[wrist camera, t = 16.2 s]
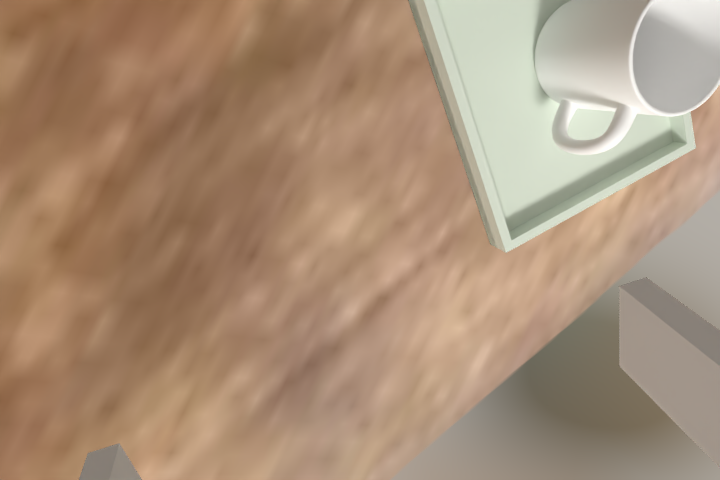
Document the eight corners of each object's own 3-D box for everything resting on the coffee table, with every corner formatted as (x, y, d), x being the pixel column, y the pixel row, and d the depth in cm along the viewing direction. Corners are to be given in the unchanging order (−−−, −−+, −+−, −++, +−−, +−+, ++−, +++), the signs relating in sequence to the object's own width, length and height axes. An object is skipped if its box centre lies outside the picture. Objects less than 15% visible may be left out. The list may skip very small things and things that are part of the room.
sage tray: (403, -16, 38) (417, -21, 36) (629, -117, 41) (655, -129, 39) (490, 244, 47) (506, 252, 44) (672, 144, 49) (695, 148, 47)
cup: (635, 30, 44) (756, 18, 34) (565, 164, 45) (663, 188, 36) (563, -24, 40) (676, -53, 31) (491, 123, 42) (577, 137, 33)
